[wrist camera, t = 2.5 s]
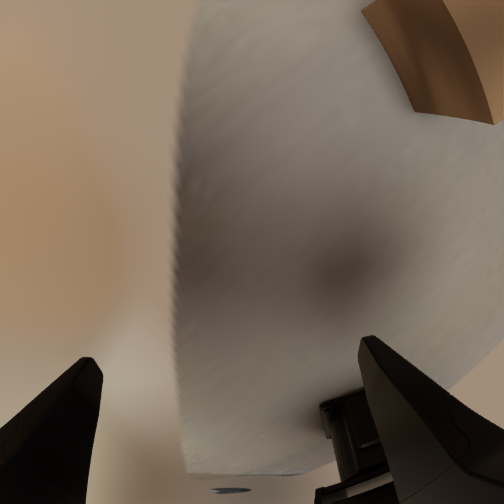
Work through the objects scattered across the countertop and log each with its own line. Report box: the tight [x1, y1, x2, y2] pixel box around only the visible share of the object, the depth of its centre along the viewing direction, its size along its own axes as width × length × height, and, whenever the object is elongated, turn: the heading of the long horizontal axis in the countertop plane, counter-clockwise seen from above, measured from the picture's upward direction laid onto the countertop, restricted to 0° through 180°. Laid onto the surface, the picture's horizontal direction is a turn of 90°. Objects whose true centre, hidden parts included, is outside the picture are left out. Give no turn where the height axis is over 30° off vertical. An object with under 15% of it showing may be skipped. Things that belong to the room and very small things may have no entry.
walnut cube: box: [362, 0, 504, 125], centre depth 6 cm, size 5×5×5 cm
